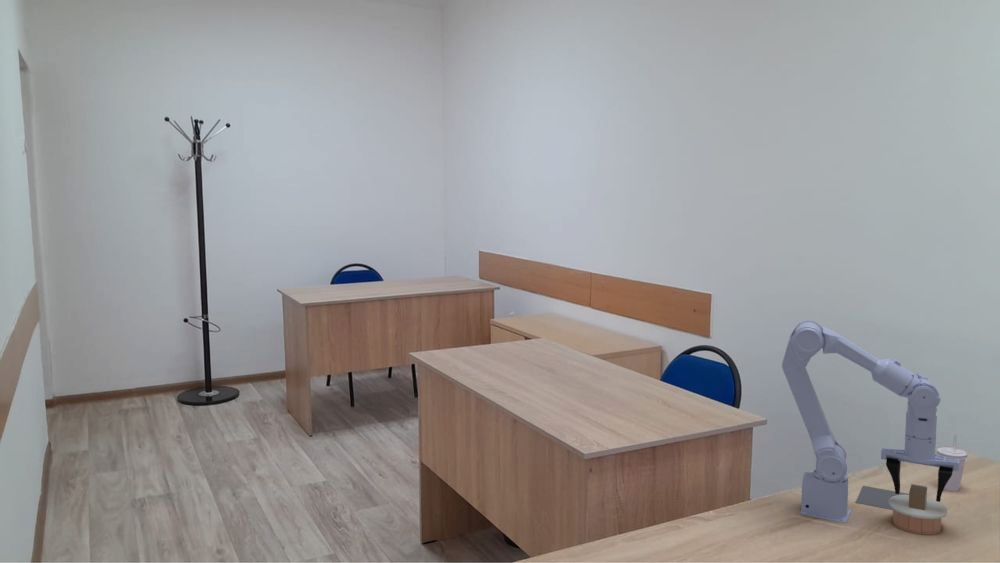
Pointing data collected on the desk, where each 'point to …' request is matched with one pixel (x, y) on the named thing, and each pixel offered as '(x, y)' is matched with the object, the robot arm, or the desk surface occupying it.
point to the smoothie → (960, 455)
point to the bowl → (917, 524)
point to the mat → (876, 497)
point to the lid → (918, 504)
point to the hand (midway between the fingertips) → (917, 496)
